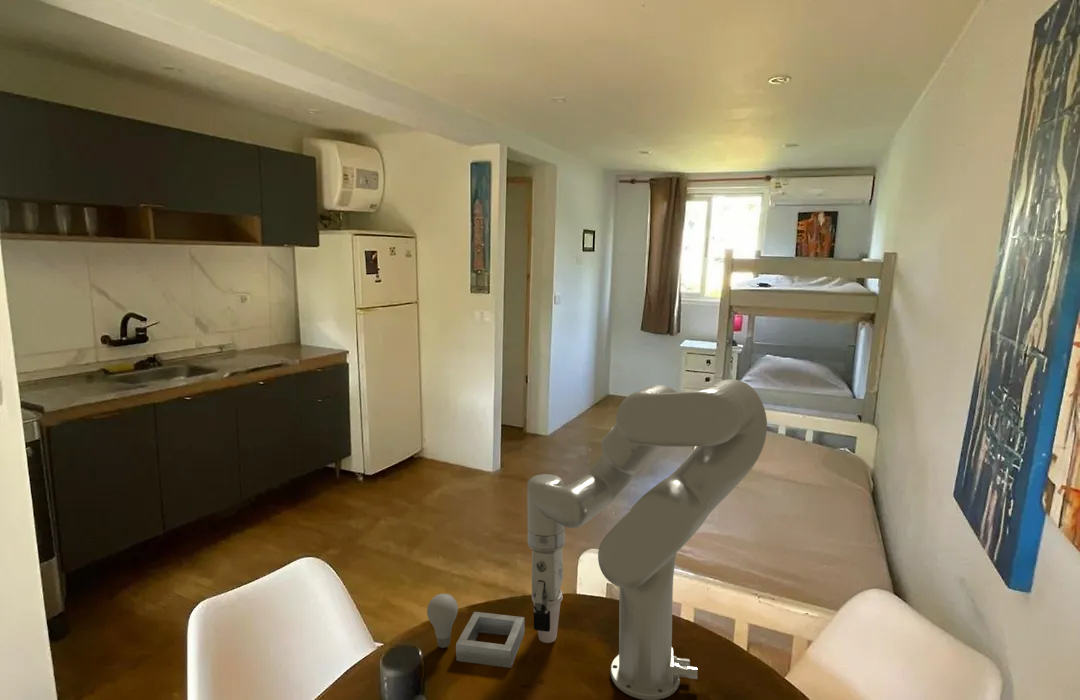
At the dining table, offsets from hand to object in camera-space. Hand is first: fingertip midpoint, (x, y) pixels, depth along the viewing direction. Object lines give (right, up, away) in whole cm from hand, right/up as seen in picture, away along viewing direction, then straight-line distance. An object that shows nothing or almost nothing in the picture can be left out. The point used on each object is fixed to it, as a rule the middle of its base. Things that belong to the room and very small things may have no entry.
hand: (546, 615), depth 115 cm
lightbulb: (-21, -6, -2) cm, 22 cm away
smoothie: (0, -5, 0) cm, 5 cm away
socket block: (-11, -5, -2) cm, 13 cm away
